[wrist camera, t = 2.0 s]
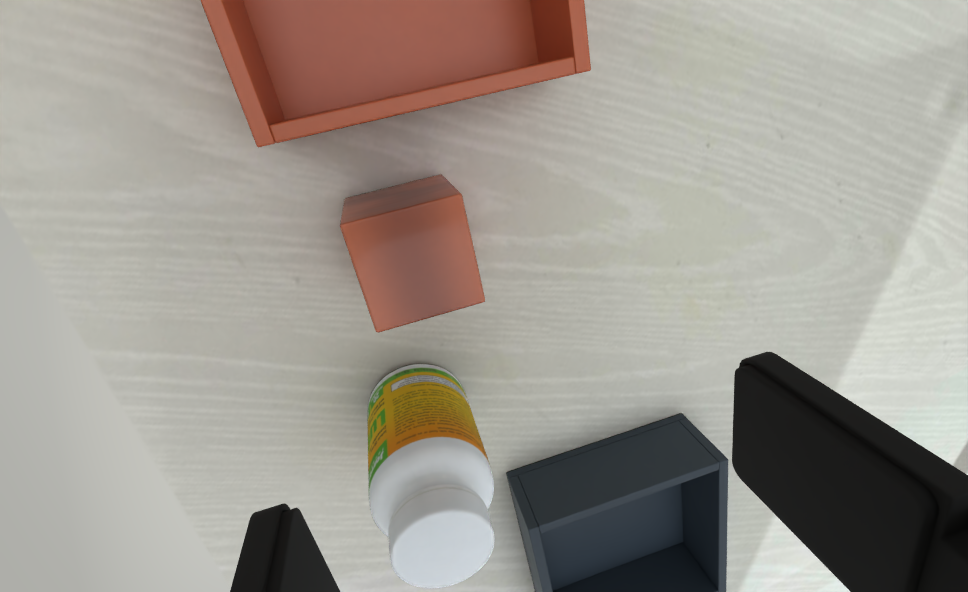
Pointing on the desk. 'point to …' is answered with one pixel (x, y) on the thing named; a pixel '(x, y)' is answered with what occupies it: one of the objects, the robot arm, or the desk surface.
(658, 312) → the desk surface
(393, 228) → the terracotta block
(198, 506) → the desk surface
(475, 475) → the supplement bottle
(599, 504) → the slate bin
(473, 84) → the terracotta bin
